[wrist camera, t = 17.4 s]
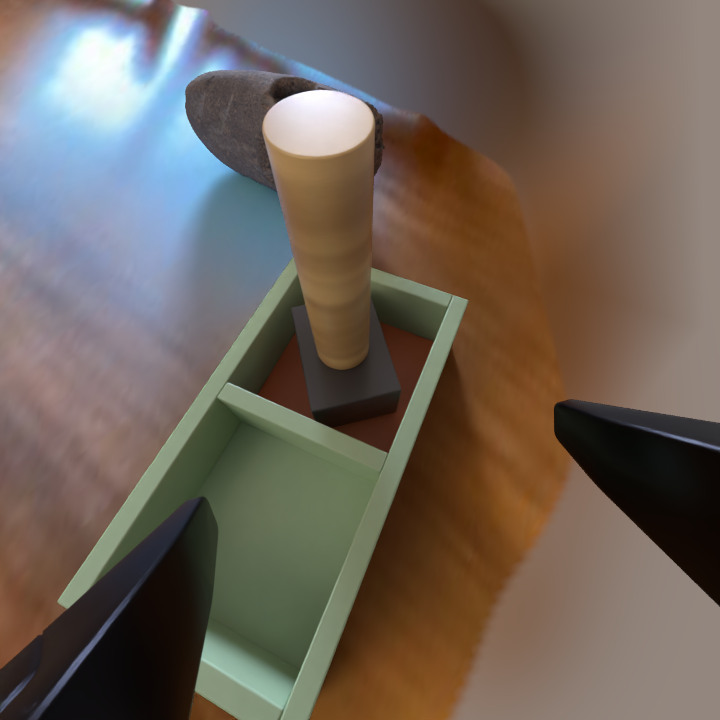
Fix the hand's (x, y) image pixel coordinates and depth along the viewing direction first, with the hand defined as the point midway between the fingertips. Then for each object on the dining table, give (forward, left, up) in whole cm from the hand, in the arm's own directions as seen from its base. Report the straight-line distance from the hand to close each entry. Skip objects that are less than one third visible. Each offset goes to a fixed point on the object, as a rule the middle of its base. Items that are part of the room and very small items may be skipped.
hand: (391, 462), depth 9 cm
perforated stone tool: (+24, -2, -9) cm, 25 cm away
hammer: (+6, -1, -8) cm, 11 cm away
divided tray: (+4, +2, -9) cm, 10 cm away
